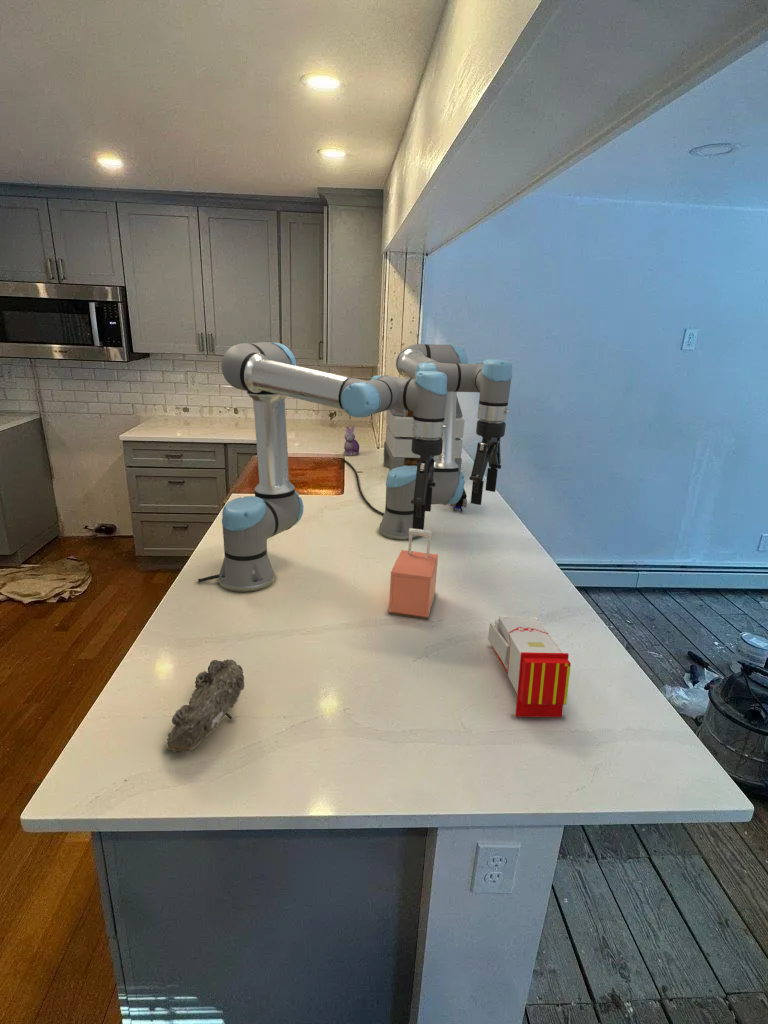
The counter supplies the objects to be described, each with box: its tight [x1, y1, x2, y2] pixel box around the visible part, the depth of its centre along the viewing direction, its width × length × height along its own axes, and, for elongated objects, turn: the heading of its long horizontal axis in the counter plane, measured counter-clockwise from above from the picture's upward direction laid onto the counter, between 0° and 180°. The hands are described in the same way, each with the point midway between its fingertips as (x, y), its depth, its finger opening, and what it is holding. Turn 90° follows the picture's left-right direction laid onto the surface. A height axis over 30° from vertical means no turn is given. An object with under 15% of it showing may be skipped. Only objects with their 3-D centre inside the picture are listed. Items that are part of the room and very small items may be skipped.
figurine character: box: [449, 489, 468, 512], centre depth 228 cm, size 7×8×15 cm
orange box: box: [390, 528, 439, 580], centre depth 148 cm, size 15×10×8 cm
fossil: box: [166, 658, 245, 754], centre depth 106 cm, size 22×10×15 cm
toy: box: [487, 616, 572, 718], centre depth 123 cm, size 12×13×30 cm
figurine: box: [343, 425, 360, 456], centre depth 302 cm, size 9×10×15 cm
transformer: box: [383, 397, 465, 472], centre depth 268 cm, size 34×33×41 cm
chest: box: [388, 558, 439, 621], centre depth 151 cm, size 14×10×11 cm
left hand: (421, 519), depth 144 cm, fingers open, 13 cm apart
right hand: (483, 497), depth 156 cm, fingers open, 13 cm apart
